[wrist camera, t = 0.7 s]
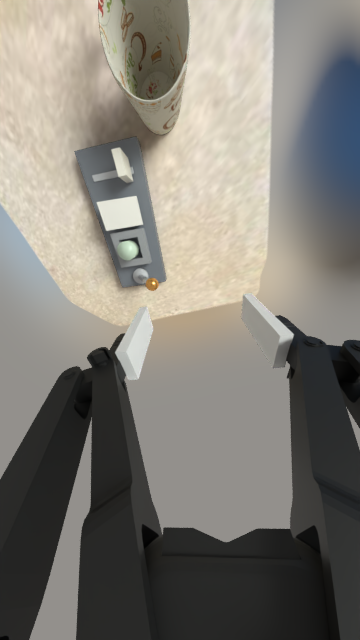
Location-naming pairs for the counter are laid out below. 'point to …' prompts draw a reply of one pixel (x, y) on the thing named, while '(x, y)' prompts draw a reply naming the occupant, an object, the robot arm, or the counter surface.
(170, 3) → the mug
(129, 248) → the button
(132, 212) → the plate
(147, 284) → the lever
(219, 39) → the counter surface
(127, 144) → the panel
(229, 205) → the counter surface
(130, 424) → the robot arm
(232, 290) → the counter surface
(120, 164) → the slider
